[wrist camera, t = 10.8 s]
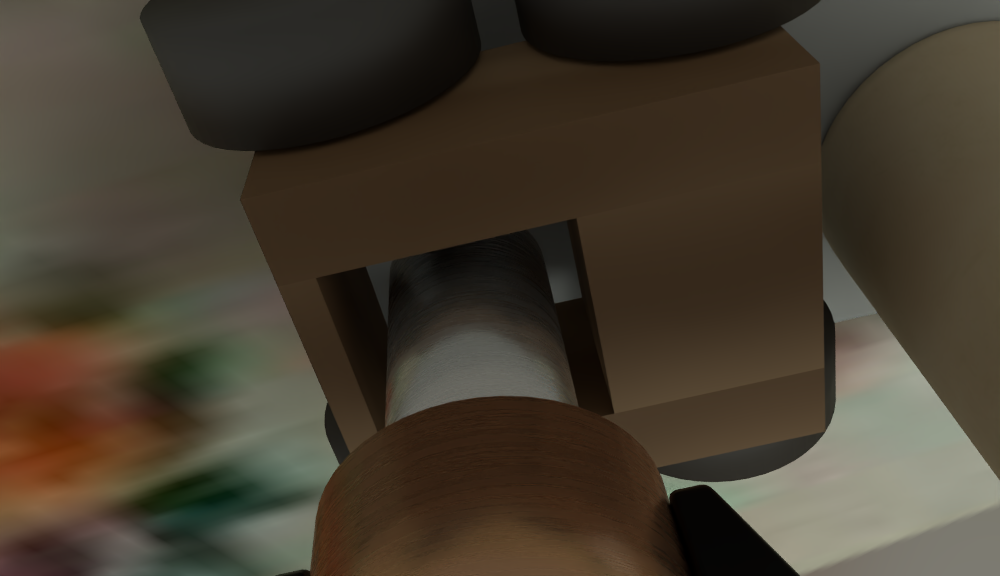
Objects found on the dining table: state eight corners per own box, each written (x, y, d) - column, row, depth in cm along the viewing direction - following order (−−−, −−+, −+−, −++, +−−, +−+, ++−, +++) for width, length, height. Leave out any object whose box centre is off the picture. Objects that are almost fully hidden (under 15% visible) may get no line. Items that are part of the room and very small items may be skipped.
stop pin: (607, 344, 15) (801, 1003, 8) (383, 393, 15) (361, 1084, 8) (568, 138, 13) (788, 777, 5) (308, 199, 13) (179, 897, 6)
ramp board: (1216, 207, 20) (1288, 255, 18) (419, 384, 21) (420, 446, 19) (1373, -371, 14) (1500, -375, 12) (252, -89, 15) (233, -59, 13)
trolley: (787, 303, 19) (899, 490, 15) (355, 399, 20) (341, 607, 15) (766, -184, 14) (931, -117, 10) (177, -37, 14) (77, 93, 10)
